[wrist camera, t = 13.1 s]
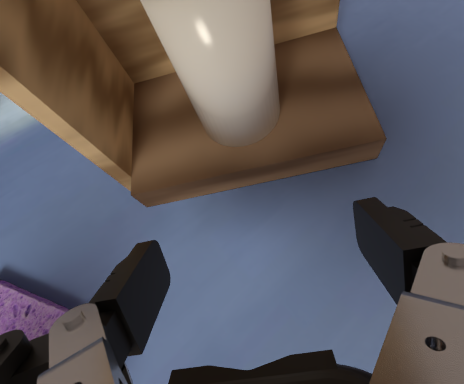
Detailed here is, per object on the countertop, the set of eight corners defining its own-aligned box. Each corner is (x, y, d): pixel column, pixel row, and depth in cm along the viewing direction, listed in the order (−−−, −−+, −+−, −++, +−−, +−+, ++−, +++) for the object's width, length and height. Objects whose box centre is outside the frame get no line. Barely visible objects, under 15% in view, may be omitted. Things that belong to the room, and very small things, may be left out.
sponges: (79, 448, 17) (56, 462, 16) (-48, 371, 21) (-77, 375, 20) (126, 329, 20) (110, 330, 18) (4, 278, 24) (-18, 275, 22)
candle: (188, 115, 23) (117, -17, 14) (246, 71, 23) (213, -82, 14) (233, 162, 20) (180, 35, 11) (297, 111, 21) (295, -48, 12)
